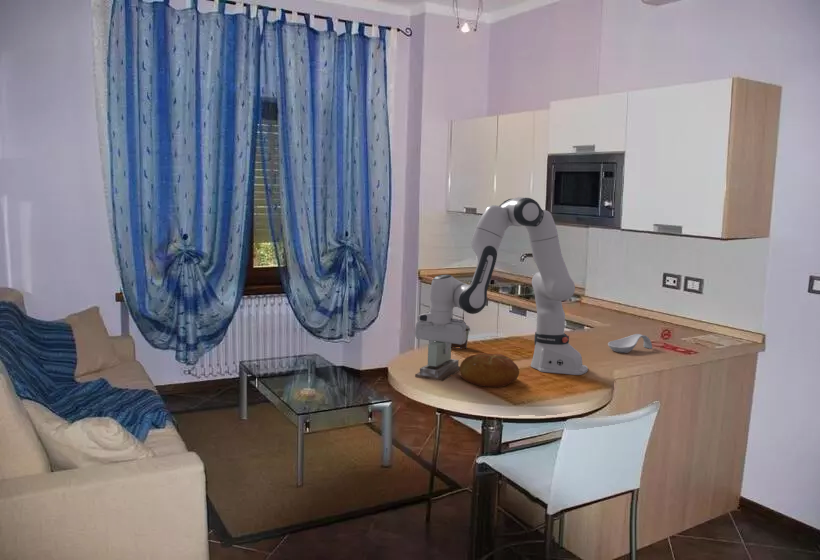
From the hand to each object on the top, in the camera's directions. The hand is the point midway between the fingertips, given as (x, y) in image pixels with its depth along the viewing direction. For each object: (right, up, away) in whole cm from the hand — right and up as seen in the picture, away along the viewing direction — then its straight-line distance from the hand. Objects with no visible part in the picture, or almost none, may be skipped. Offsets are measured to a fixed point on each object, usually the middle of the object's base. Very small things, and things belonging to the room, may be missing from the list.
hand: (439, 352), depth 258 cm
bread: (+18, -10, -8) cm, 22 cm away
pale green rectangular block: (0, -4, 0) cm, 4 cm away
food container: (+10, -3, +48) cm, 49 cm away
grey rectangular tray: (0, -8, +1) cm, 8 cm away
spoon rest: (+89, -5, +50) cm, 102 cm away
